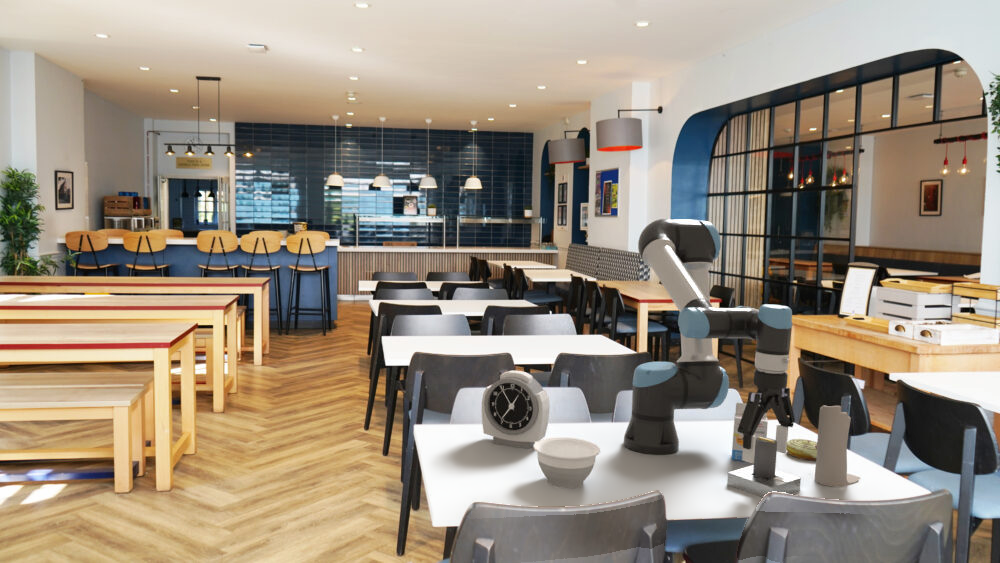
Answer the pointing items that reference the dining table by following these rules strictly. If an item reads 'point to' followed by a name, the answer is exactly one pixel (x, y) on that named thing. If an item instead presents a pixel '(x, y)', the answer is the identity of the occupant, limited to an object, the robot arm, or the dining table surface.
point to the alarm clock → (515, 410)
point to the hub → (763, 482)
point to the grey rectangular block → (765, 458)
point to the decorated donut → (802, 448)
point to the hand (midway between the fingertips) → (764, 456)
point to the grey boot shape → (833, 448)
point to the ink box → (738, 437)
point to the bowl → (566, 460)
